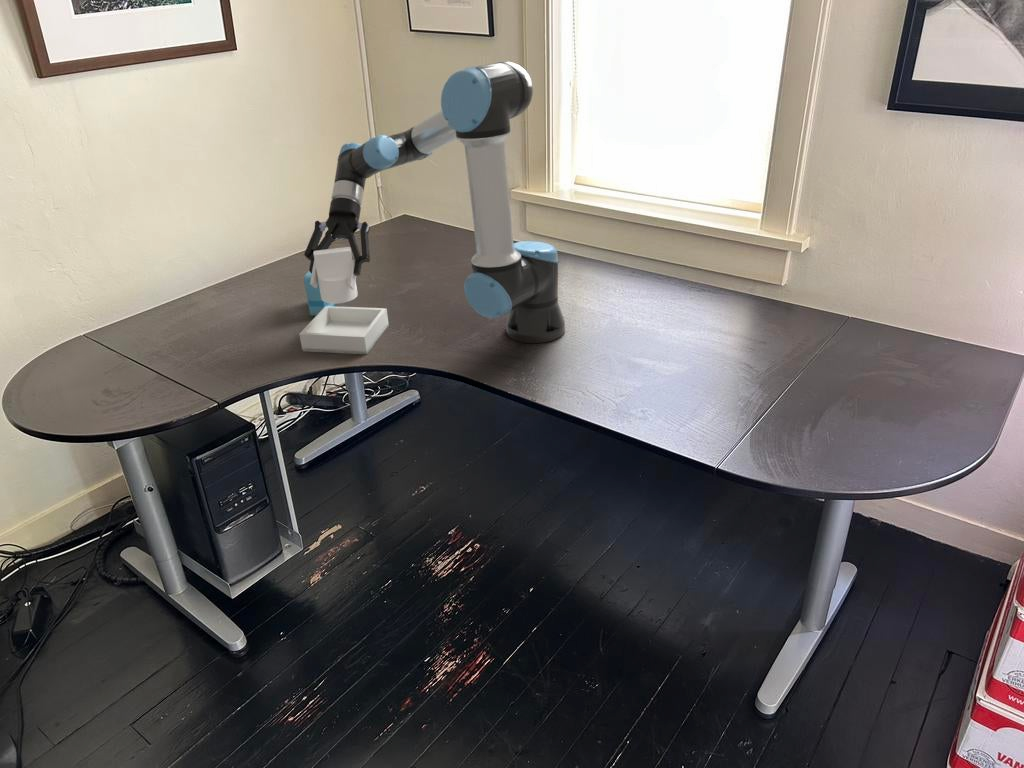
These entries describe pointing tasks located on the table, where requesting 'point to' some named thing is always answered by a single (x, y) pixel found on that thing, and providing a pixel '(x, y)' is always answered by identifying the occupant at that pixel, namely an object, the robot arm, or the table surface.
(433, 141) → the robot arm
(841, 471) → the table surface
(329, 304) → the data package
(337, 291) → the base with upright slab
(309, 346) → the bin
